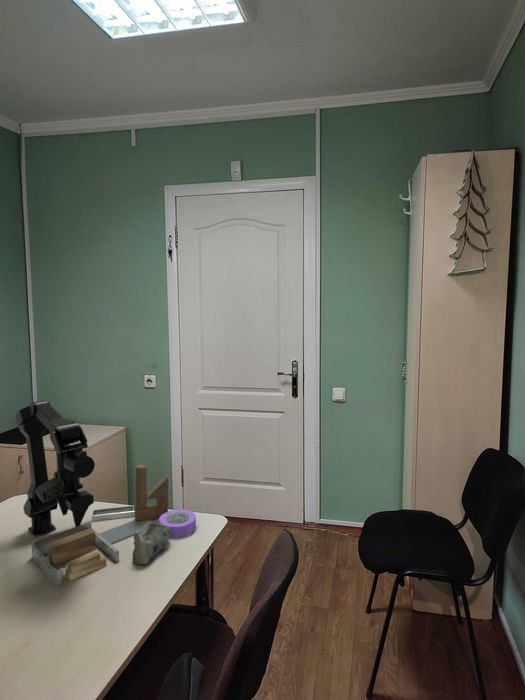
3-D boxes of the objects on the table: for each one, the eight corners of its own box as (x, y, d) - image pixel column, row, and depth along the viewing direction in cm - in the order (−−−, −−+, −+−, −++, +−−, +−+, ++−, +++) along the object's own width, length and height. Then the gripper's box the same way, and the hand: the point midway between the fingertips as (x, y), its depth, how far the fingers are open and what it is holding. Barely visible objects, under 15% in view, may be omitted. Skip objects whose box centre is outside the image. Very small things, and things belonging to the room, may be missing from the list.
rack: (32, 557, 128) (31, 541, 128) (90, 535, 140) (89, 520, 139) (57, 587, 115) (55, 569, 114) (119, 560, 127) (118, 543, 126)
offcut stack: (65, 575, 120) (64, 562, 119) (101, 560, 127) (100, 547, 126) (70, 581, 117) (69, 567, 117) (107, 565, 124) (106, 552, 124)
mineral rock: (168, 538, 138) (167, 507, 137) (181, 555, 129) (180, 522, 128) (126, 551, 132) (125, 518, 130) (136, 569, 122) (135, 535, 121)
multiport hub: (93, 516, 153) (93, 509, 153) (137, 511, 157) (137, 505, 156) (92, 522, 149) (91, 515, 149) (137, 517, 152) (136, 510, 152)
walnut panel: (49, 564, 125) (48, 543, 125) (91, 547, 134) (90, 528, 133) (53, 568, 123) (52, 548, 122) (95, 551, 132) (94, 532, 131)
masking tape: (193, 517, 152) (193, 507, 151) (198, 535, 140) (198, 523, 140) (158, 522, 148) (158, 511, 148) (160, 540, 137) (159, 529, 137)
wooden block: (167, 518, 151) (168, 466, 149) (134, 521, 148) (134, 468, 146) (167, 513, 154) (167, 462, 153) (134, 516, 151) (135, 464, 150)
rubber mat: (97, 535, 140) (97, 534, 140) (137, 519, 150) (137, 518, 150) (108, 545, 134) (108, 544, 134) (150, 528, 144) (150, 527, 144)
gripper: (26, 466, 126) (29, 518, 128) (50, 486, 113) (53, 544, 115) (66, 456, 134) (69, 506, 136) (93, 473, 121) (95, 528, 123)
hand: (71, 520), depth 127 cm, fingers open, 9 cm apart
